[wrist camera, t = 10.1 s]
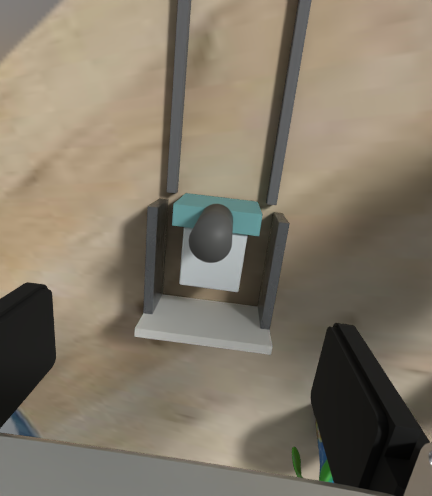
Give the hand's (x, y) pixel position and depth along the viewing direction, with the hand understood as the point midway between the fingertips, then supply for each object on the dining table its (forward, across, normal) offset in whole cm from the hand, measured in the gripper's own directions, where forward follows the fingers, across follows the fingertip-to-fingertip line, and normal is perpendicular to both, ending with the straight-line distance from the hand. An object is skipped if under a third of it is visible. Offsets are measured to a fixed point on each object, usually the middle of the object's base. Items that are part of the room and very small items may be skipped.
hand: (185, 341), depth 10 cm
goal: (+26, 0, +6) cm, 27 cm away
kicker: (+26, 0, 0) cm, 26 cm away
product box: (+26, 0, +4) cm, 27 cm away
